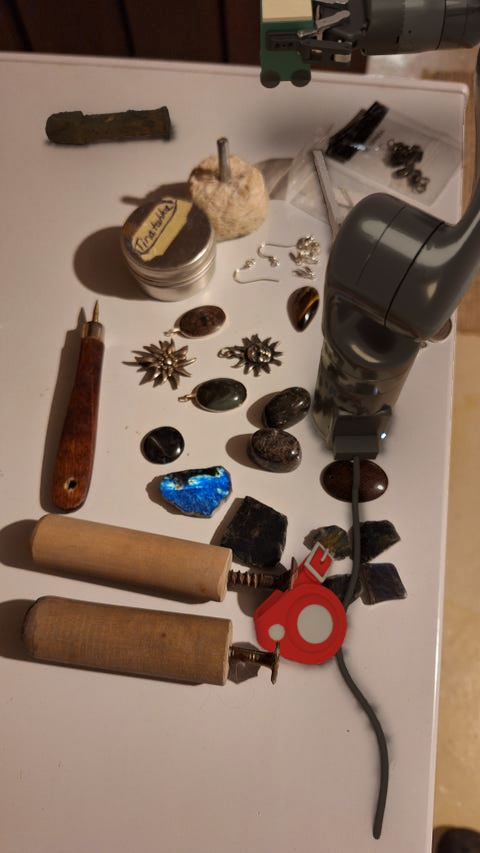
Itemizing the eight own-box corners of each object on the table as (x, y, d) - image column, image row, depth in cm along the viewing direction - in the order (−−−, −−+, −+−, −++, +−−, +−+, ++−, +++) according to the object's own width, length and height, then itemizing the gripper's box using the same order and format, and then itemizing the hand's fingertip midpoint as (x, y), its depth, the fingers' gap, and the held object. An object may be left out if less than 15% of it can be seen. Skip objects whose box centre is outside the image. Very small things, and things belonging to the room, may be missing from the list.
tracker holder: (362, 656, 65) (271, 679, 62) (345, 651, 69) (258, 672, 66) (338, 538, 67) (249, 555, 64) (322, 540, 71) (238, 556, 69)
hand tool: (172, 123, 98) (168, 96, 94) (172, 141, 97) (167, 115, 93) (51, 129, 99) (42, 103, 95) (49, 148, 97) (39, 122, 93)
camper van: (310, 87, 85) (315, 17, 76) (260, 89, 85) (259, 19, 77) (308, 61, 87) (313, -10, 78) (259, 63, 87) (258, -8, 79)
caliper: (343, 261, 87) (348, 230, 81) (335, 262, 87) (340, 231, 81) (319, 152, 95) (323, 117, 89) (312, 153, 95) (315, 118, 89)
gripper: (400, -48, 79) (263, -42, 79) (413, 28, 73) (266, 34, 74) (389, 12, 86) (263, 18, 86) (401, 86, 80) (266, 92, 80)
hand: (265, 25), depth 80 cm, fingers closed on camper van, 5 cm apart
